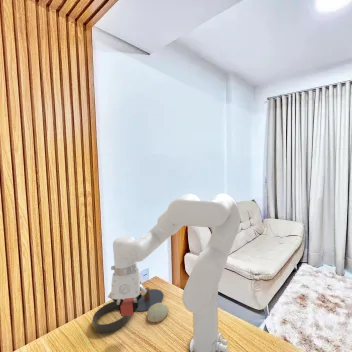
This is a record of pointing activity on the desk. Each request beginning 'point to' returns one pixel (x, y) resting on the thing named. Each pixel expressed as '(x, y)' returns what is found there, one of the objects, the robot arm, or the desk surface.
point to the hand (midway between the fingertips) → (128, 310)
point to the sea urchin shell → (157, 312)
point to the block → (127, 307)
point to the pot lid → (149, 299)
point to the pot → (111, 326)
